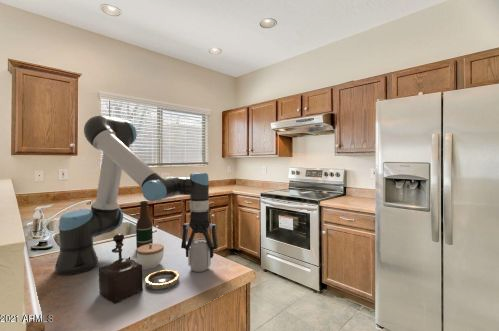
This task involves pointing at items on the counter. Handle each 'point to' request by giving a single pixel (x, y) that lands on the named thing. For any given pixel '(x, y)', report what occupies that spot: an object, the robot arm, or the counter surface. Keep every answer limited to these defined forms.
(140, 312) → the counter surface
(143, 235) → the beer bottle
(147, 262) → the lidded jar
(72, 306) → the counter surface
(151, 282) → the coaster
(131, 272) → the dark brown coffee grinder
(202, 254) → the can
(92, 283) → the counter surface
